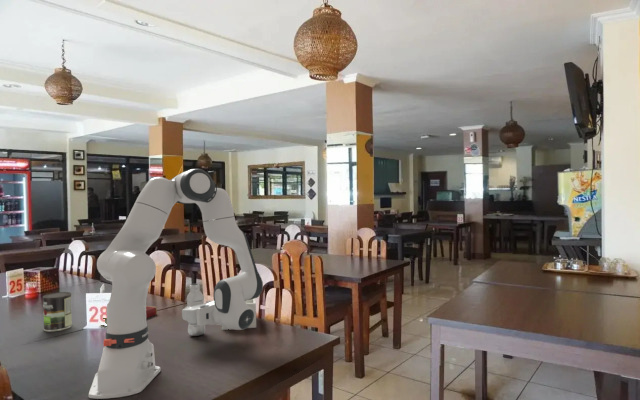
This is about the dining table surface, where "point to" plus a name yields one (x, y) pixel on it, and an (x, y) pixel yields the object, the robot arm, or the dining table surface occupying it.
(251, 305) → the bin
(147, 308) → the hardcover book
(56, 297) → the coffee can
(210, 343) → the dining table surface
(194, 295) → the plastic bottle
